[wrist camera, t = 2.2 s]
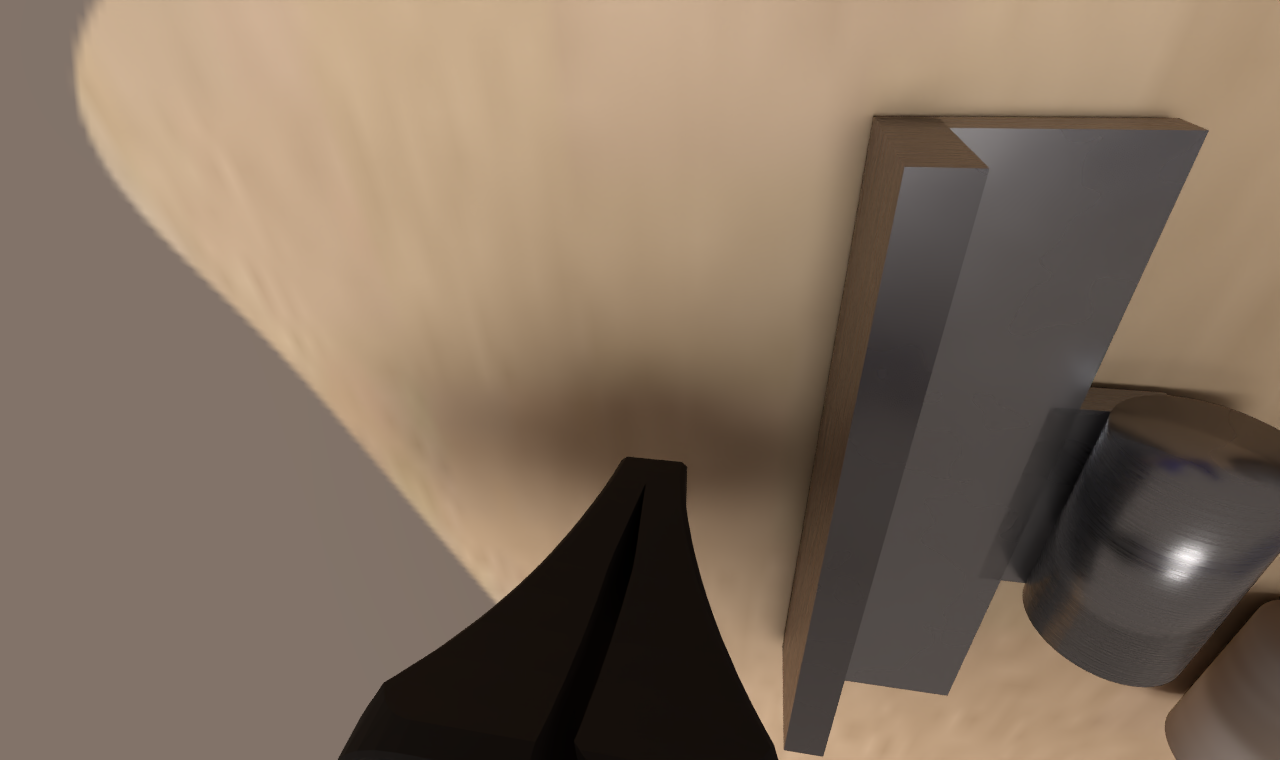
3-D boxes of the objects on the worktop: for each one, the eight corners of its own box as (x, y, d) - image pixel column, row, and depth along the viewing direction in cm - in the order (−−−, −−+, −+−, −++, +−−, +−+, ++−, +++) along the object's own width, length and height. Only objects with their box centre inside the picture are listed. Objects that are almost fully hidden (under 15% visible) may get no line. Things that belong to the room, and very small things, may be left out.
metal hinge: (1434, 119, 9) (1687, 184, 7) (1065, 686, 17) (1114, 809, 15) (873, 116, 10) (905, 168, 8) (782, 646, 19) (783, 753, 16)
